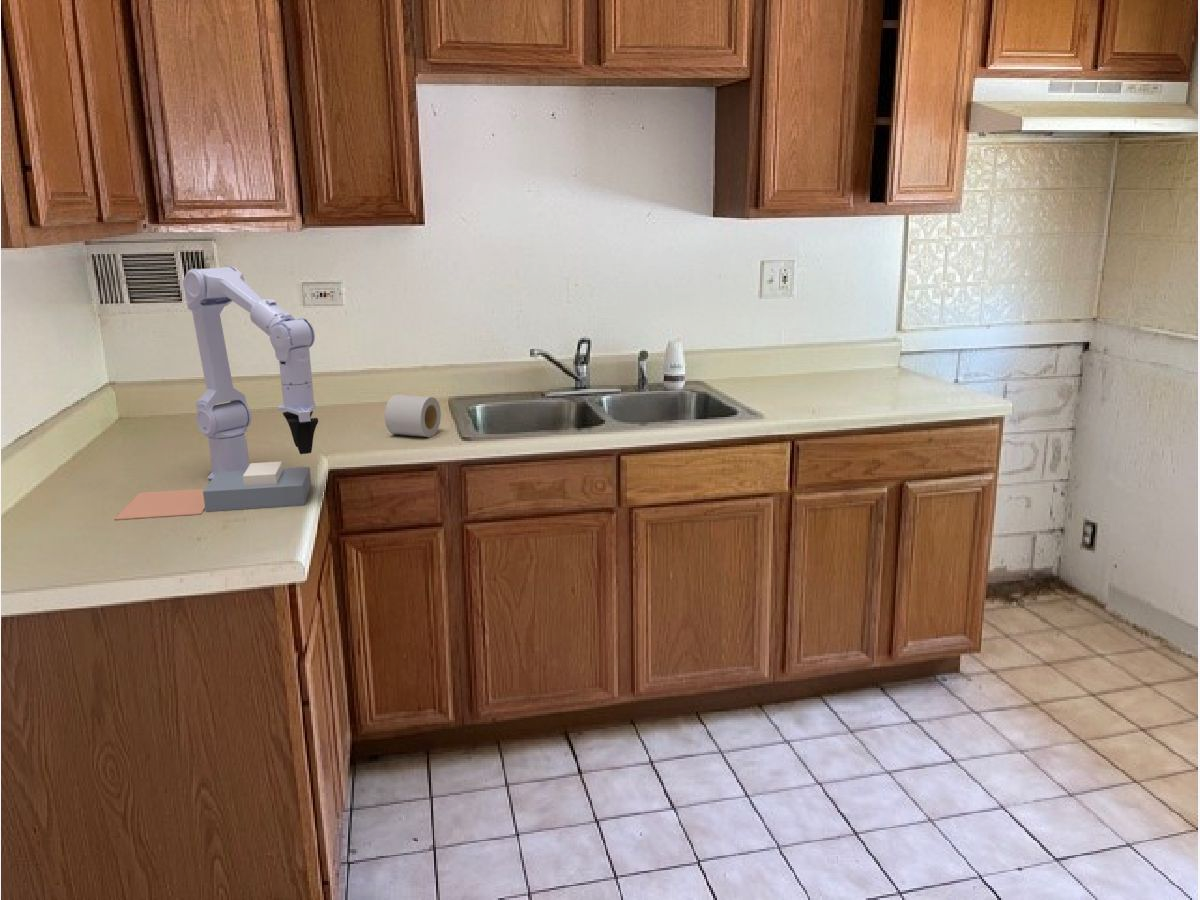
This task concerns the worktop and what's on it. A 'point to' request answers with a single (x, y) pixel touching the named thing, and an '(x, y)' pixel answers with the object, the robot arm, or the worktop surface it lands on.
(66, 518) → the worktop surface
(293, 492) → the plate
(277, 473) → the white rectangular block
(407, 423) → the toilet paper
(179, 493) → the terracotta mat
